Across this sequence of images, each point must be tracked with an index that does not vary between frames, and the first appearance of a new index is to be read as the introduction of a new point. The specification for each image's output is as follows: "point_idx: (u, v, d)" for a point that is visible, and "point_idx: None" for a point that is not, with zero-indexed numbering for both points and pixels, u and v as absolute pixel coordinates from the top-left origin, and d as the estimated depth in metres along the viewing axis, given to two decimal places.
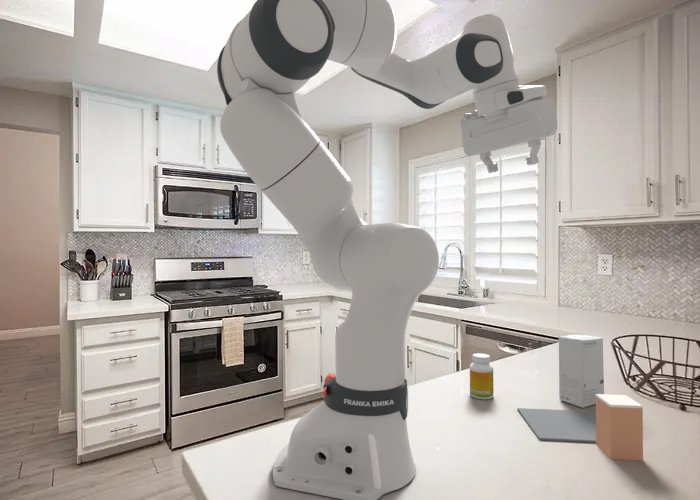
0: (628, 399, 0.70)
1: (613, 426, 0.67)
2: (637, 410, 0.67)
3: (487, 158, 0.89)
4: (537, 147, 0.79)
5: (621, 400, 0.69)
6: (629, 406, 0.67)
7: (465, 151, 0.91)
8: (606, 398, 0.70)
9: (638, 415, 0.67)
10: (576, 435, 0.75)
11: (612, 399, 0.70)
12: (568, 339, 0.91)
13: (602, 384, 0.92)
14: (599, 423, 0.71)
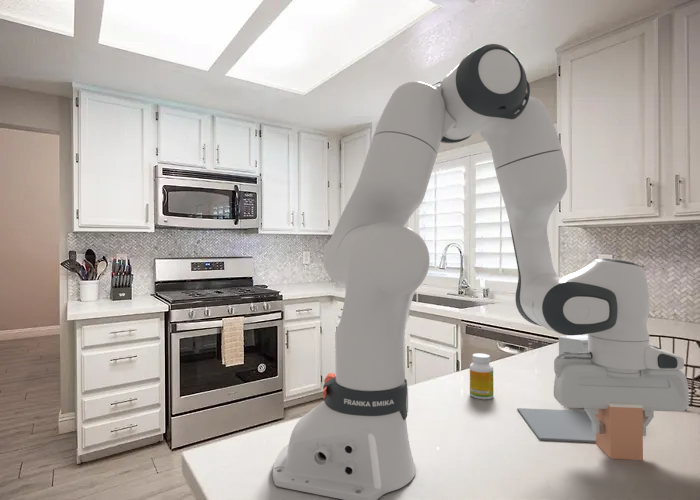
0: None
1: (613, 425, 0.67)
2: (637, 410, 0.67)
3: None
4: None
5: None
6: (629, 406, 0.67)
7: (564, 400, 0.69)
8: None
9: (638, 414, 0.67)
10: (576, 435, 0.75)
11: None
12: (568, 339, 0.91)
13: None
14: None
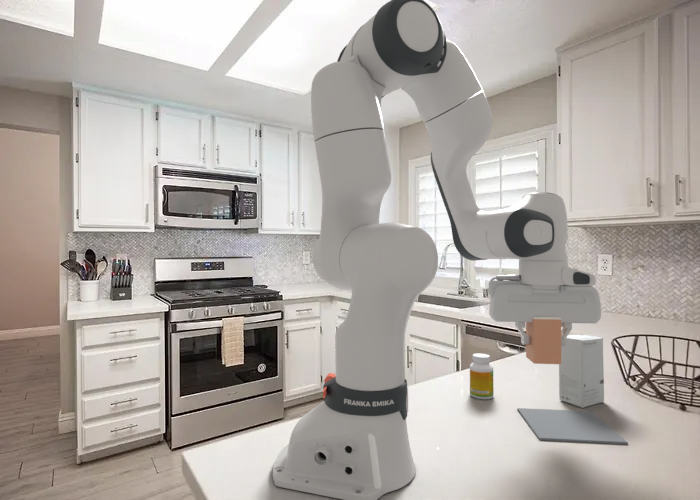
0: None
1: (536, 335, 0.78)
2: (556, 321, 0.78)
3: None
4: None
5: None
6: (550, 318, 0.78)
7: (496, 315, 0.80)
8: None
9: (557, 325, 0.78)
10: (576, 435, 0.75)
11: None
12: (568, 339, 0.91)
13: (602, 384, 0.92)
14: None
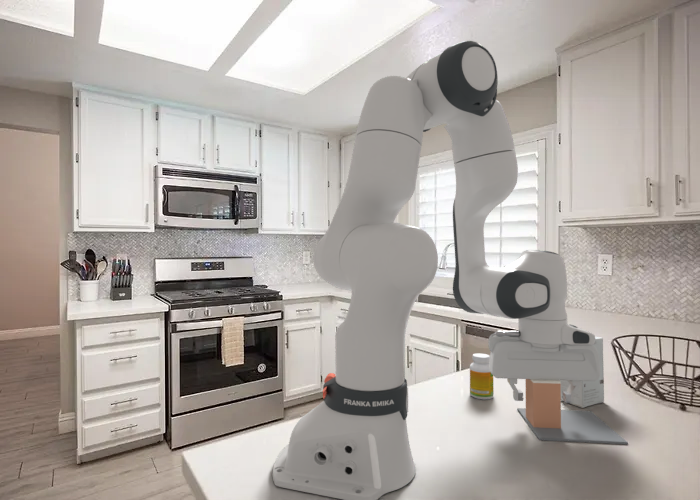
0: None
1: (536, 399, 0.78)
2: (556, 385, 0.78)
3: None
4: None
5: None
6: (549, 382, 0.78)
7: (495, 372, 0.80)
8: None
9: (556, 389, 0.78)
10: (576, 435, 0.75)
11: None
12: None
13: (602, 384, 0.92)
14: (527, 398, 0.82)
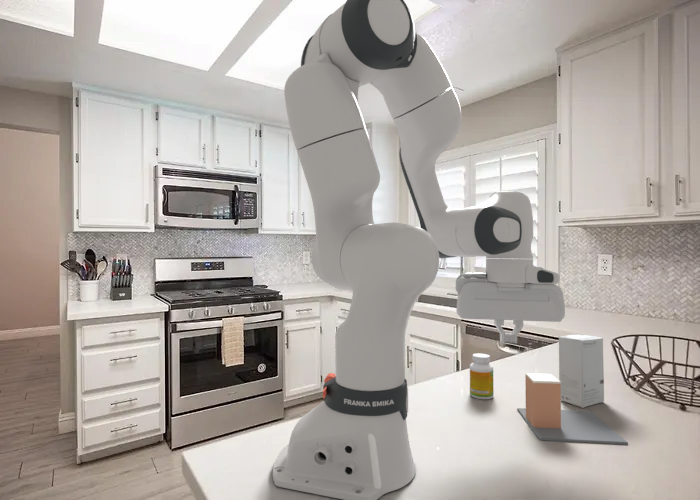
0: (551, 377, 0.81)
1: (536, 399, 0.78)
2: (556, 385, 0.78)
3: None
4: None
5: (544, 377, 0.80)
6: (549, 382, 0.78)
7: (461, 312, 0.80)
8: (532, 376, 0.81)
9: (556, 389, 0.78)
10: (576, 435, 0.75)
11: (537, 377, 0.81)
12: (568, 339, 0.91)
13: (602, 384, 0.92)
14: (527, 398, 0.82)
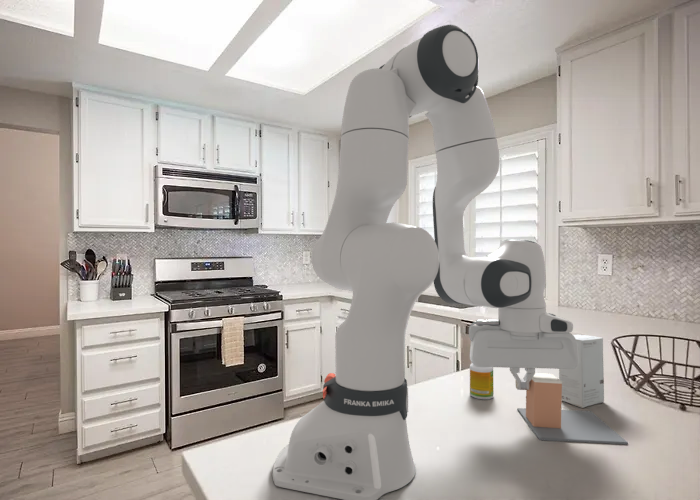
0: (552, 377, 0.81)
1: (536, 398, 0.78)
2: (557, 385, 0.78)
3: None
4: None
5: (546, 377, 0.80)
6: (551, 382, 0.78)
7: (475, 360, 0.81)
8: (534, 375, 0.81)
9: (557, 389, 0.78)
10: (576, 435, 0.75)
11: (538, 376, 0.81)
12: None
13: (602, 384, 0.92)
14: (527, 397, 0.82)
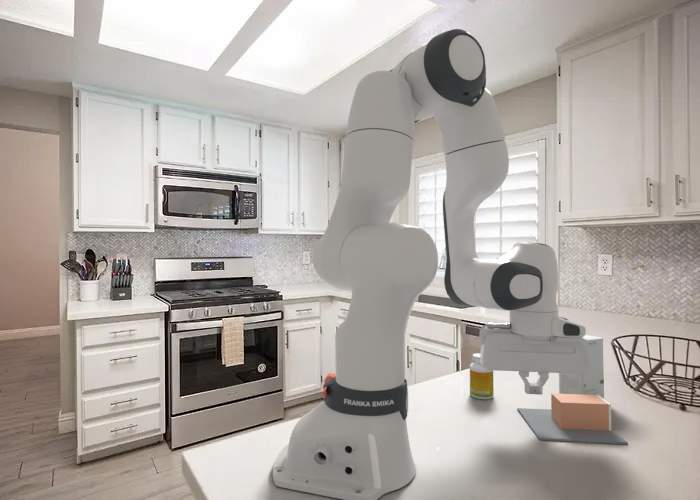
0: None
1: (591, 406, 0.77)
2: (606, 426, 0.77)
3: None
4: None
5: None
6: (610, 420, 0.77)
7: (486, 363, 0.80)
8: None
9: (602, 426, 0.77)
10: (576, 435, 0.75)
11: None
12: None
13: (602, 384, 0.92)
14: (575, 396, 0.81)
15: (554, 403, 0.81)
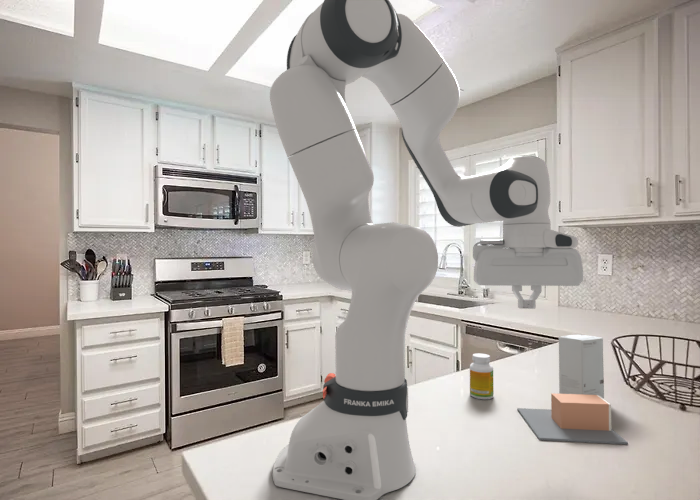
0: None
1: (591, 406, 0.77)
2: (606, 426, 0.77)
3: None
4: None
5: None
6: (610, 420, 0.77)
7: (479, 279, 0.80)
8: None
9: (602, 426, 0.77)
10: (576, 435, 0.75)
11: None
12: (568, 339, 0.91)
13: (602, 384, 0.92)
14: (575, 396, 0.81)
15: (554, 403, 0.81)
